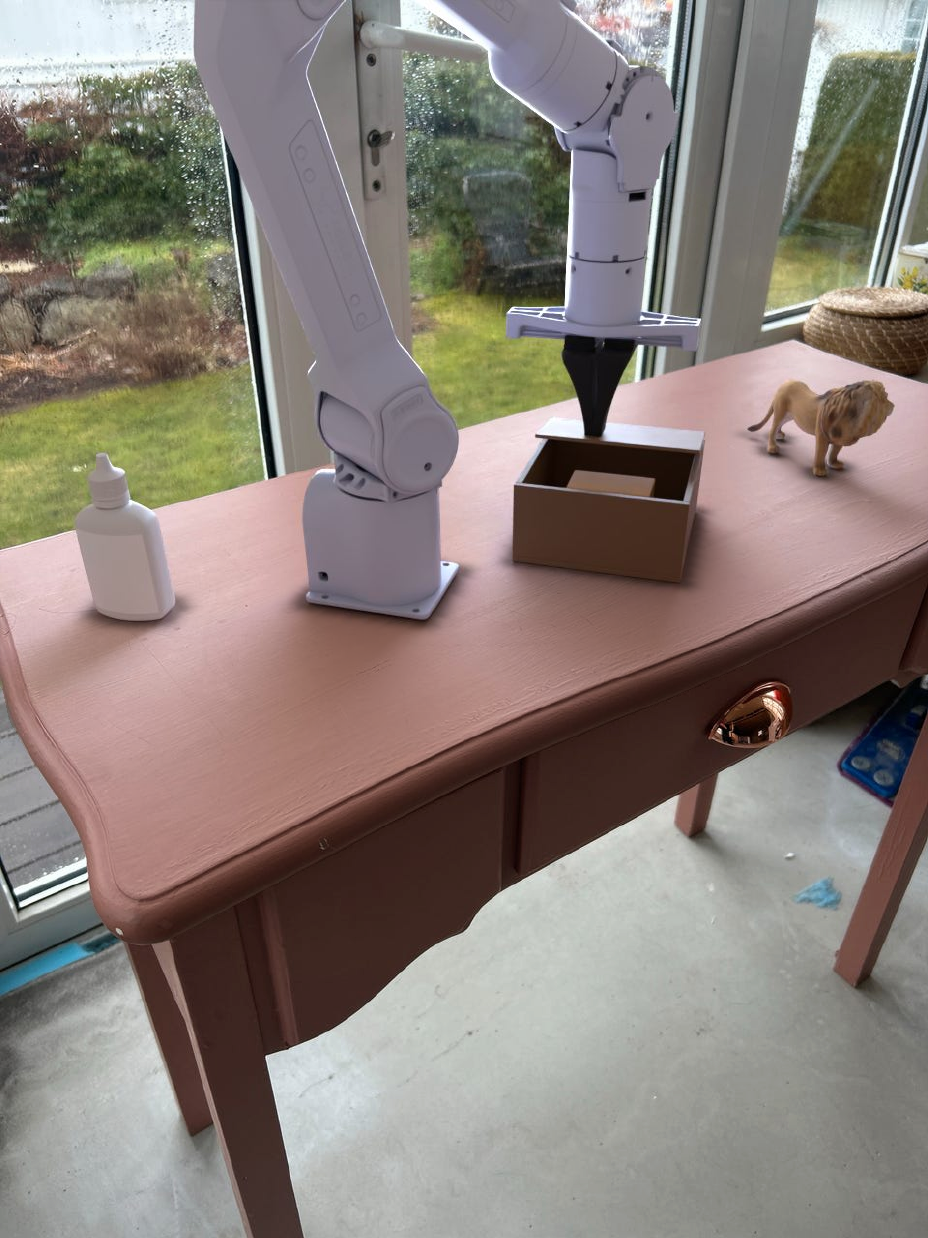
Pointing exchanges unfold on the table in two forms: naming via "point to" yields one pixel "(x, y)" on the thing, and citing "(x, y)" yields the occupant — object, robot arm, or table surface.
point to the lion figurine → (828, 416)
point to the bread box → (606, 510)
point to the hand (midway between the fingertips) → (594, 431)
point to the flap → (625, 436)
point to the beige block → (612, 483)
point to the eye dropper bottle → (122, 550)
